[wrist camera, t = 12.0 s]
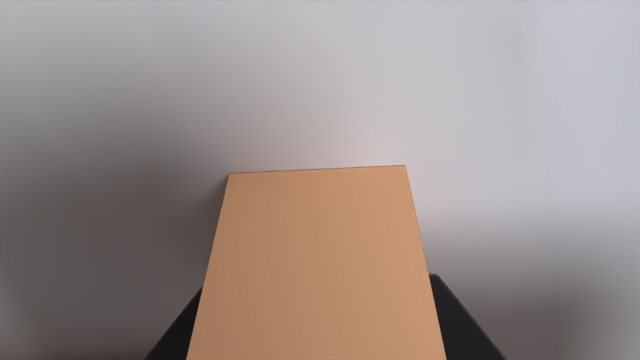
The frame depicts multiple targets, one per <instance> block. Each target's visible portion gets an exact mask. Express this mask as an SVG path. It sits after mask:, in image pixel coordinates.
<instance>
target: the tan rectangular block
mask: <svg viewBox="0 0 640 360" xmlns="http://www.w3.org/2000/svg"><path fill="white" fill-rule="evenodd" d="M186 360H446V355H445V350H444V346H443V341H442V336H441V331H440V327H439V322H438V317H437V312H436V308H435V303H434V298H433V293H432V289H431V284H430V279H429V274H428V270H427V265H426V260H425V255H424V251H423V246H422V241H421V236H420V232H419V227H418V222H417V217H416V213H415V208H414V203H413V198H412V194H411V189H410V184H409V180H408V175H407V170H406V165H402V166H380V167H359V168H338V169H316V170H295V171H273V172H252V173H231V174H229V178H228V182H227V186H226V191H225V195H224V199H223V203H222V208H221V212H220V216H219V221H218V225H217V229H216V234H215V238H214V242H213V247H212V251H211V255H210V260H209V264H208V268H207V272H206V277H205V281H204V285H203V290H202V294H201V298H200V303H199V307H198V311H197V316H196V320H195V324H194V329H193V333H192V337H191V341H190V346H189V350H188V354H187V359H186Z"/></svg>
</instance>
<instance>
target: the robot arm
mask: <svg viewBox="0 0 640 360" xmlns="http://www.w3.org/2000/svg"><path fill="white" fill-rule="evenodd" d="M429 279H430V284H431V289H432V293H433V298H434V303H435V308H436V312H437V317H438V322H439V327H440V331H441V336H442V341H443V346H444V350H445V355H446V360H507V359H506V358H505V357H504V356H503V354H502V353H501V352H500V351H499V349H498V348H497V347H496V346H495V345H494V343H493V342H492V341H491V340H490V338H489V337H488V336H487V335H486V333H485V332H484V331H483V330H482V329H481V327H480V326H479V325H478V324H477V322H476V321H475V320H474V319H473V317H472V316H471V315H470V314H469V313H468V311H467V310H466V309H465V308H464V306H463V305H462V304H461V303H460V301H459V300H458V299H457V298H456V297H455V295H454V294H453V293H452V292H451V290H450V289H449V288H448V287H447V285H446V284H445V283H444V282H443V281H442V279H441V278H440V277H439V276H438V275H436V274H429ZM202 290H203V286H202V287H201V289H200V290H199V291H198V292H197V294H196V295H195V296H194V297H193V299H192V300H191V301H190V302H189V304H188V305H187V306H186V307H185V309H184V310H183V311H182V312H181V314H180V315H179V316H178V317H177V319H176V320H175V321H174V322H173V324H172V325H171V326H170V327H169V329H168V330H167V331H166V332H165V334H164V335H163V336H162V337H161V339H160V340H159V341H158V343H157V344H156V345H155V346H154V348H153V349H152V350H151V351H150V353H149V354H148V355H147V356H146V358H145V359H144V360H186V359H187V354H188V350H189V346H190V341H191V337H192V333H193V329H194V324H195V320H196V316H197V311H198V307H199V303H200V298H201V294H202Z"/></svg>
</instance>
